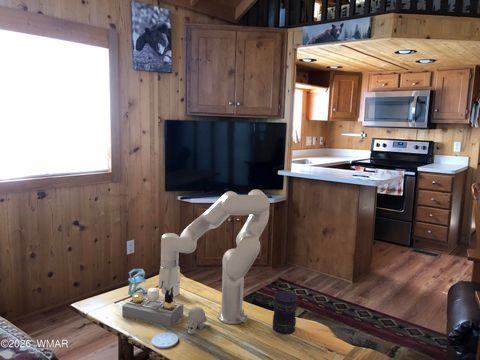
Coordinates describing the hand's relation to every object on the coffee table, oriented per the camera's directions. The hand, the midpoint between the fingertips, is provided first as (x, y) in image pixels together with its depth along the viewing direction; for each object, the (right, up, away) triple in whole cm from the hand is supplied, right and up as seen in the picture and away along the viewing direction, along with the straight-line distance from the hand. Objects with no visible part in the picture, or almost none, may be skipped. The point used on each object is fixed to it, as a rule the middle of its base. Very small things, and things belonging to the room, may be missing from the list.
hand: (168, 301), depth 165 cm
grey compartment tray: (-8, -7, +4) cm, 11 cm away
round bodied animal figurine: (+12, -10, -6) cm, 17 cm away
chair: (-21, -4, +26) cm, 33 cm away
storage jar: (+50, -11, -3) cm, 52 cm away
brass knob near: (0, -3, 0) cm, 3 cm away
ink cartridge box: (-4, -4, +26) cm, 27 cm away
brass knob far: (-15, -2, +5) cm, 16 cm away
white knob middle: (-7, +1, +2) cm, 8 cm away
